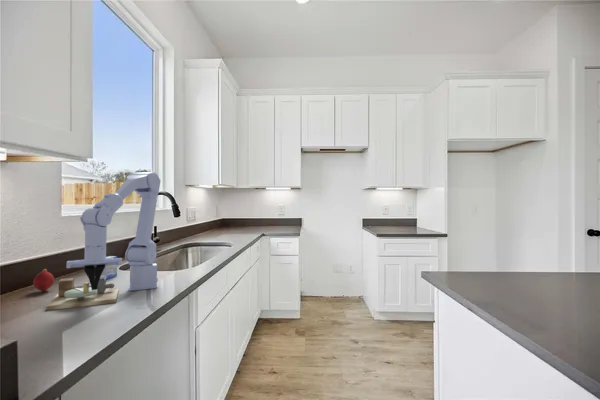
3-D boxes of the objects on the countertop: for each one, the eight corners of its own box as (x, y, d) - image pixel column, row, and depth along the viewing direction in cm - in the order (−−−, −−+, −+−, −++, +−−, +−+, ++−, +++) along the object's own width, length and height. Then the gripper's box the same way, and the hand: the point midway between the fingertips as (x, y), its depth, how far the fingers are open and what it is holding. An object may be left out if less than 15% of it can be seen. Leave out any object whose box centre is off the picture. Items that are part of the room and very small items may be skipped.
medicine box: (105, 280, 130) (106, 259, 130) (95, 279, 130) (95, 259, 130) (117, 275, 138) (117, 256, 138) (107, 275, 138) (107, 255, 138)
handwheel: (97, 293, 105) (98, 277, 105) (94, 300, 98) (94, 283, 98) (67, 296, 102) (67, 279, 102) (61, 304, 94) (61, 285, 94)
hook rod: (114, 288, 111) (115, 274, 112) (113, 291, 108) (114, 276, 108) (60, 293, 104) (61, 278, 105) (58, 296, 101) (58, 281, 101)
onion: (42, 294, 109) (42, 271, 109) (28, 293, 110) (29, 270, 110) (58, 289, 114) (58, 268, 114) (45, 288, 116) (45, 267, 116)
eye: (105, 289, 111) (106, 274, 111) (104, 293, 106) (104, 278, 106) (99, 290, 110) (99, 275, 110) (97, 294, 105) (97, 278, 105)
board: (118, 291, 114) (118, 288, 114) (116, 302, 101) (116, 298, 101) (57, 297, 105) (57, 293, 105) (46, 310, 93) (46, 306, 93)
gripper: (64, 248, 92) (63, 295, 92) (121, 246, 99) (120, 289, 98) (69, 245, 98) (68, 289, 98) (122, 243, 105) (121, 284, 105)
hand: (94, 289), depth 99 cm, fingers closed
